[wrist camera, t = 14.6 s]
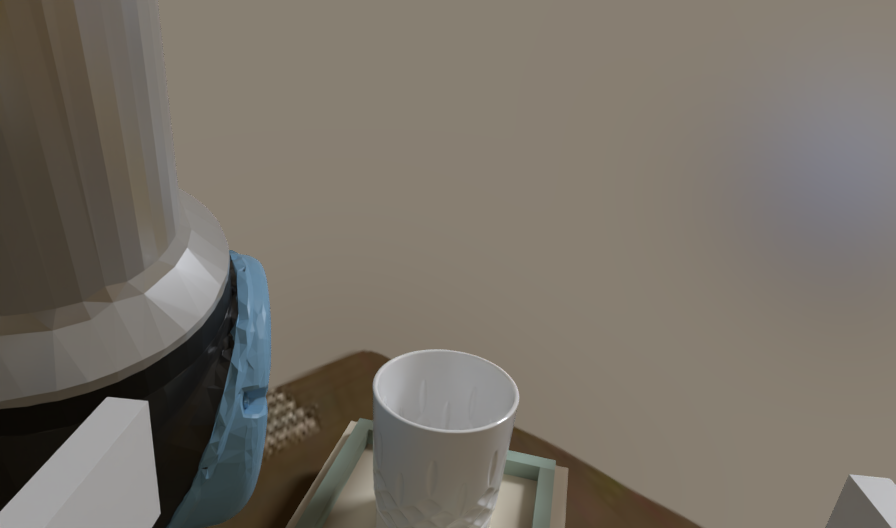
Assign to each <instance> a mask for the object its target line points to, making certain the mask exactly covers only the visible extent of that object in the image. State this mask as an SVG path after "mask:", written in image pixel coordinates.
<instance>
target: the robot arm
mask: <svg viewBox="0 0 896 528" xmlns="http://www.w3.org/2000/svg"><path fill="white" fill-rule="evenodd" d="M270 367H271V317H270V302H269V293H268V286H267V279H266V275H265V272H264V269H263V267H262V265H261V263H260V262H259V261H258V260H257V259H255V258H253V257H251V256H248V255H241V254H238V253H236V252H234V251H232V250H229V248H228V244H227V240H226V238H225V235H224V232H223V230H222V228H221V226H220V224H219V222H218V220H217V219H216V218H215V217H214V215H213V214H212V213H211V212H210V210H209V209H208V208H207V207H205V206H204V205H203V204H202V203H201V202H200V201H198V200H197V199H196V198H194V197H193V196H191V195H190V194H188V193H187V192H185V191H184V190H182V189H180V188H178V181H177V172H176V163H175V154H174V144H173V135H172V127H171V118H170V109H169V100H168V90H167V81H166V72H165V63H164V53H163V44H162V36H161V26H160V17H159V8H158V0H0V528H203V527H208V526H213V525H217V524H220V523H223V522H225V521H227V520H229V519H231V518H232V517H233V516H235V515H236V514H237V513H239V511H240V510H241V509H242V508H243V507H244V506H245V505H246V503H247V502H248V500H249V499H250V497H251V495H252V493H253V491H254V488H255V485H256V482H257V479H258V475H259V471H260V467H261V462H262V456H263V450H264V443H265V435H266V425H267V413H268V411H267V400H266V397H265V396H266V393H267V391H268V383H269V375H270ZM826 528H896V485H895V484H894V483H893V481H892V480H891V479H889V478H880V477H870V476H860V475H851V474H850V475H849V476H848V478H847V480H846V483H845V485H844V487H843V489H842V492H841V494H840V496H839V499H838V501H837V503H836V505H835V507H834V510H833V512H832V514H831V516H830V519H829V521H828V523H827V526H826Z"/></svg>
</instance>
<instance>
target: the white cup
mask: <svg viewBox="0 0 896 528" xmlns="http://www.w3.org/2000/svg"><path fill="white" fill-rule="evenodd" d="M518 403H519V392H518V388H517V386H516V384H515V382H514V381H513V379H512V378H511V377H510V376H509V375H508V374H507V373H506V372H505V371H504V370H503V369H501V368H500V367H499V366H497V365H495V364H494V363H492V362H490V361H488V360H485V359H483V358H481V357H478V356H475V355H472V354H468V353H464V352H459V351H452V350H439V349H437V350H434V349H433V350H421V351H415V352H410V353H407V354H403V355H401V356H398V357H396V358H394V359H392V360H390V361H388V362H387V363H386V364H384V365H383V366H382V367H381V368H380V369H379V370H378V372H377V373H376V375H375V377H374V381H373V480H374V494H375V498H376V528H489V527H490V522H491V517H492V512H493V511H494V509H495V506H496V502H497V498H498V493H499V490H500V486H501V482H502V478H503V473H504V469H505V464H506V459H507V454H508V450H509V445H510V440H511V435H512V431H513V426H514V421H515V416H516V412H517V407H518Z"/></svg>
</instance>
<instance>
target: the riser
mask: <svg viewBox="0 0 896 528" xmlns="http://www.w3.org/2000/svg"><path fill="white" fill-rule="evenodd" d="M555 464H556V461H555V460H551V459H546V458H542V457H537V456H532V455H528V454H523V453H519V452H514V451H509V450H508V454H507V459H506V464H505V469H504V473H503V478H502V482H501V486H500V490H499V493H498V498H497V502H496V506H495V509H494V511H493V512H492V517H491V522H490V527H489V528H565V515H566V498H567V481H568V468H564V467H560V466H555ZM286 528H376V498H375V494H374V480H373V421H371V420H367V419H362V418H360V419H359V421H358V422H354V421H351V422H350V424H349V426H348V427H347V429H346V430H345V432H344V434H343V435H342V437H341V439H340V440H339V442H338V443H337V445H336V447H335V448H334V450H333V451H332V453H331V455H330V456H329V458H328V460H327V461H326V463H325V464H324V466H323V468H322V469H321V471H320V473H319V474H318V476H317V477H316V479H315V481H314V482H313V484H312V485H311V487H310V489H309V490H308V492H307V494H306V495H305V497H304V498H303V500H302V502H301V503H300V505H299V507H298V508H297V510H296V511H295V513H294V515H293V516H292V518H291V519H290V521H289V523H288V524H287V526H286Z"/></svg>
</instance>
